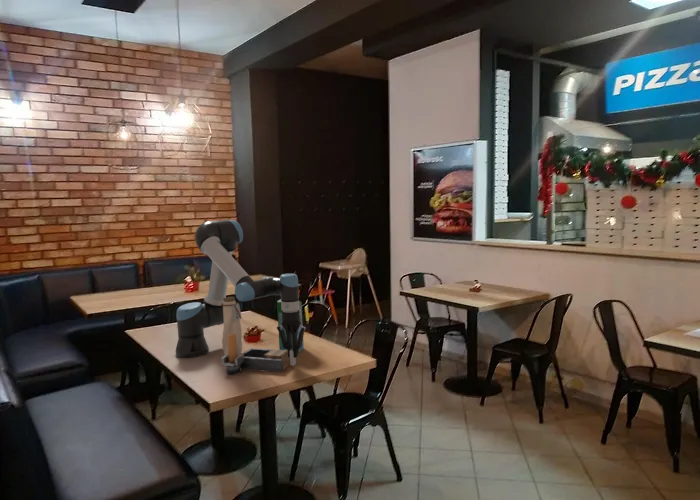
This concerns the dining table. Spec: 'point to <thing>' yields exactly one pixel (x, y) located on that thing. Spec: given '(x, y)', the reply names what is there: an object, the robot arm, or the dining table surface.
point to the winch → (233, 364)
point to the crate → (279, 356)
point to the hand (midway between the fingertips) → (293, 364)
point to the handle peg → (232, 347)
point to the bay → (260, 361)
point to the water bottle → (231, 323)
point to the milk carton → (284, 329)
